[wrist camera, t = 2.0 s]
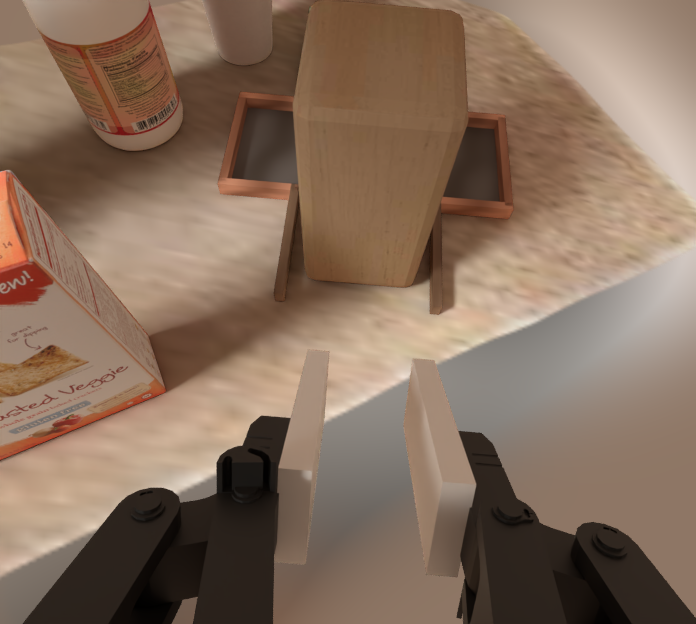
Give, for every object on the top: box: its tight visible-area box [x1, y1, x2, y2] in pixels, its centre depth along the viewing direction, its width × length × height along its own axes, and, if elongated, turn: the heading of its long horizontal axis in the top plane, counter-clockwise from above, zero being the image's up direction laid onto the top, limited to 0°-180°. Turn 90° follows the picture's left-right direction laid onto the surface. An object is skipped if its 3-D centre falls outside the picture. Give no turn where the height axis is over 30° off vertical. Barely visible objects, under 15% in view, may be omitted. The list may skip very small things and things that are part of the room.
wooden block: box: [293, 0, 468, 287], centre depth 37 cm, size 10×10×20 cm
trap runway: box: [218, 7, 513, 315], centre depth 50 cm, size 29×37×3 cm
